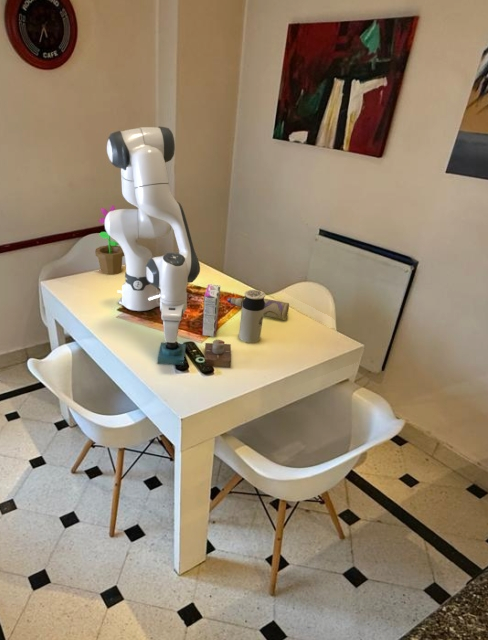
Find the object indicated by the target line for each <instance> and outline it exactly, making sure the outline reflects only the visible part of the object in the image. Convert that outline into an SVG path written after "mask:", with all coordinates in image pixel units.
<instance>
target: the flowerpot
mask: <svg viewBox="0 0 488 640" xmlns="http://www.w3.org/2000/svg"><path fill="white" fill-rule="evenodd" d="M114 210H116V207H115V205H114V204H113V205H111V207H110V209H109V211H108V210H107V209H106V208H104V207H101V208H100V211H101V213H102V215H103V216H104V217H101V218H100V219H98V222H99V224H104V223H105V218H106V215H107V214H108V213H109V212H110V211H114ZM98 235H99V236H100V238H102V239H104V240H106V239H107V241H108V244H107V245H101V246H98V247H96V248H95V250H94V253H95V257H96V258H98V262H99V267H100V272H101V273H102V274H105V275H117V274H119V273H122V269H123V257H125V256H124V252H123V250H122V248H121V246H120V245H119V244H118V243H117V242H116V241H115V240H111V237H110V236H109V235H108V233H107V232H106V231H101V232H100V233H98Z"/></svg>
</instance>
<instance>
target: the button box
mask: <svg viewBox="0 0 488 640" xmlns="http://www.w3.org/2000/svg"><path fill="white" fill-rule="evenodd" d="M186 349H187V343H181V342H178V349H175V350H169V349H167V342H166V341H165V342H160V346H159V351H158V355H157V364H159V365H174V366H184V365H185V359H186ZM184 357H185V358H184ZM180 362H184V363H180Z"/></svg>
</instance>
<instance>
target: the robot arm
mask: <svg viewBox="0 0 488 640" xmlns="http://www.w3.org/2000/svg"><path fill="white" fill-rule="evenodd" d="M175 151H176V140H175V137H174V133H173V131H172V130H171V129H170V128H169V127H165V126H158V127H156V126H139V127H137V128H131V129H130V128H129V129H126V130H122V131H121V130H116V131H114V132H111V133H110V134H109V136H108V138H107V143H106V153H107V157H108V159H109V162H110V163H111V165H112V166H114V167H115V168H118V169H120V179H121V194H122V197H123V198H124V199H125V201H126V202H127V203H129V204H131V205H132V206H134V207H136V208H119V209H115V210H114V211H110V210H109V211H108V214H107V215H106V216H105V217H104V218H105V223H103V224H104V230H105V232H106V233H108V235H109V236H110V239H111V238H112V239H113V241H114V242H116V243H118V244H119V245H118V246H120V247H121V248H122V250H123V252H124V256H123V257H124V263H125V271H124V279H125V282H124V283H123V284H122V285H121V290H117V293H120V294H121V297H120V298H119V300H118V304H119V305H122V306H123V307H124V308H126V309H128V310H130V311H137V312H143V311H145V312H146V311H149V310H153V309H155V308H157V307H158V308H159V311H160V312H161V313H160V318H161V320H162V323H163V334H164V335H163V336H164V341H165V343H166V342H169V343H175V342H176V341H177V342H178V335H179V328H180V323H181V321H182V320H183V316H184V314H185V312H186V311H187V308H188V307H187V306H188V305H187V304H188V292H187V287H188V284H190V283H191V284H192V283H193V282H194V281H195V280H196V279H197V278H198V276H199V275H200V272H201V265H200V261H199V258H198V255H197V253H196V251H195V248H194V244H193V240H192V237H191V233H190V228H189V224H188V222H187V221H188V220H187V218H186V214H185V211H184V208H183V206H182V204H181V203H180V202H179V201H177V200H176V198H174V196H173V193H172V191H171V187H170V179H169V175H168V170H167V169H168V167H167V165H166V163H168V162H170V161H172V159H173V157H175ZM171 230H173V233H174V238H175V240H176V244H177V248H178V252H174V251H173V252H167V253H165V254H163V255H160V256H153V252H152V251H151V249H149V248H147V247H146V246H144V245H141V244H140V243H139V241H138V240H156V239H162V238H166V237H168V235H169V234H170V232H171Z"/></svg>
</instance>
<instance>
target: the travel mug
mask: <svg viewBox="0 0 488 640" xmlns="http://www.w3.org/2000/svg"><path fill="white" fill-rule="evenodd" d="M243 295H244V298H243V299H244V300H243V304H242V308H241V313H240V322H239V329H238V330H239V331H238V339H239V340H240V341H242V342H245V343H249V344H251V343H252V344H253V343H257V342H259V341H260V340H261V335H262V334H261V333H262V328H263V327H262V326H263V320H264V315H263V314H264V307H265V301H264V299H265V298H266V293H265V292H264V291H262V290H260V289H248V290H245V292H244V293H243Z"/></svg>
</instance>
